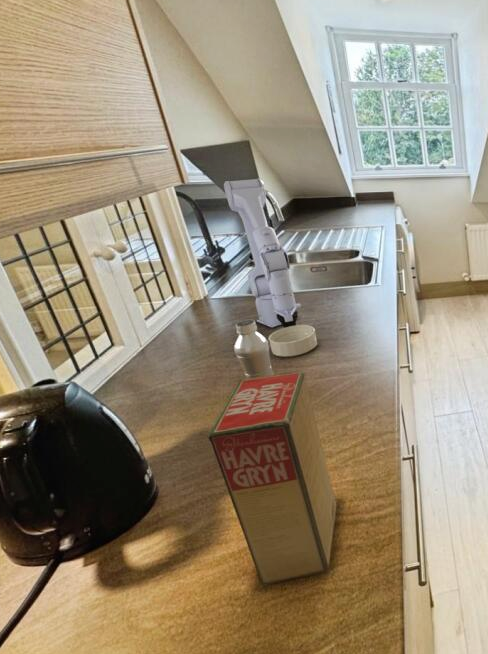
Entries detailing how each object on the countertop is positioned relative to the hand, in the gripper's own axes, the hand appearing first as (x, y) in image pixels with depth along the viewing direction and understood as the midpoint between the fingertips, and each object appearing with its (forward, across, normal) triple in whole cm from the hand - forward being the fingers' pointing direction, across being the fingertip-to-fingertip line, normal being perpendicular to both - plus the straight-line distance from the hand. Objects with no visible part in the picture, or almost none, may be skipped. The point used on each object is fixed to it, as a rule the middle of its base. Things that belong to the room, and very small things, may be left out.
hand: (291, 335), depth 134 cm
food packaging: (+1, -78, +7) cm, 78 cm away
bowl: (+1, -7, 0) cm, 7 cm away
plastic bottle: (+1, -35, +9) cm, 36 cm away
